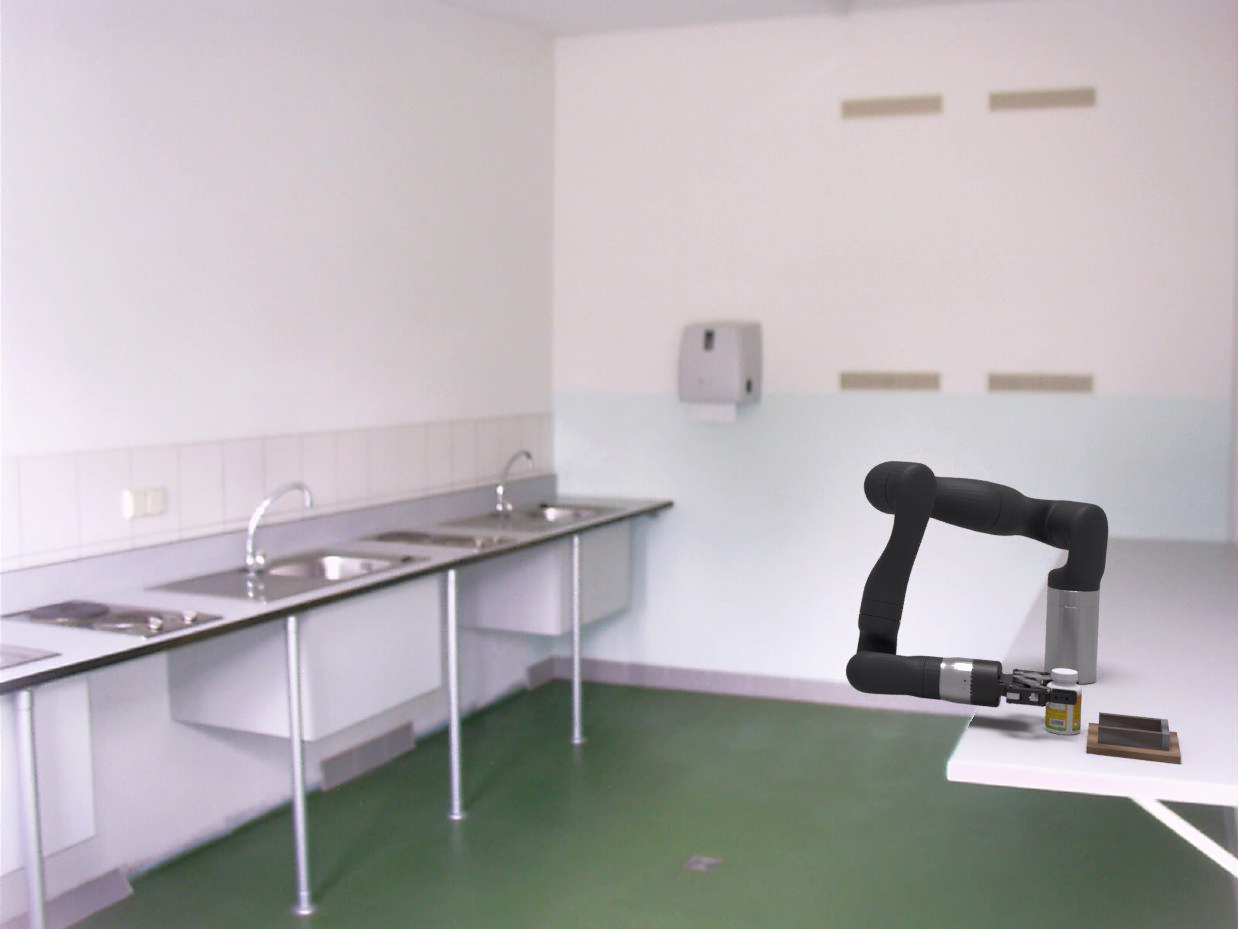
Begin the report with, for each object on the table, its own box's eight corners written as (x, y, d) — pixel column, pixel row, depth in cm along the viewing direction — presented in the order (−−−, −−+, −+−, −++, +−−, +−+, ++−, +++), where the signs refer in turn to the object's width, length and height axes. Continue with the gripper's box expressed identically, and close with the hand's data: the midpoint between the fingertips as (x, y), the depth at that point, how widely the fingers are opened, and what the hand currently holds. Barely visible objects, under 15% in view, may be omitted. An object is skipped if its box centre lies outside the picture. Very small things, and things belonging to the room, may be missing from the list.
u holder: (1088, 728, 203) (1089, 707, 203) (1176, 738, 198) (1177, 716, 198) (1086, 753, 190) (1087, 730, 190) (1180, 764, 186) (1181, 740, 185)
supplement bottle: (1072, 726, 205) (1074, 667, 204) (1085, 735, 199) (1088, 675, 199) (1039, 725, 205) (1041, 666, 204) (1052, 735, 199) (1054, 675, 198)
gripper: (966, 668, 200) (1077, 679, 194) (976, 650, 213) (1080, 659, 207) (964, 715, 200) (1075, 727, 194) (974, 693, 214) (1078, 704, 208)
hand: (1077, 692), depth 201 cm, fingers open, 7 cm apart
